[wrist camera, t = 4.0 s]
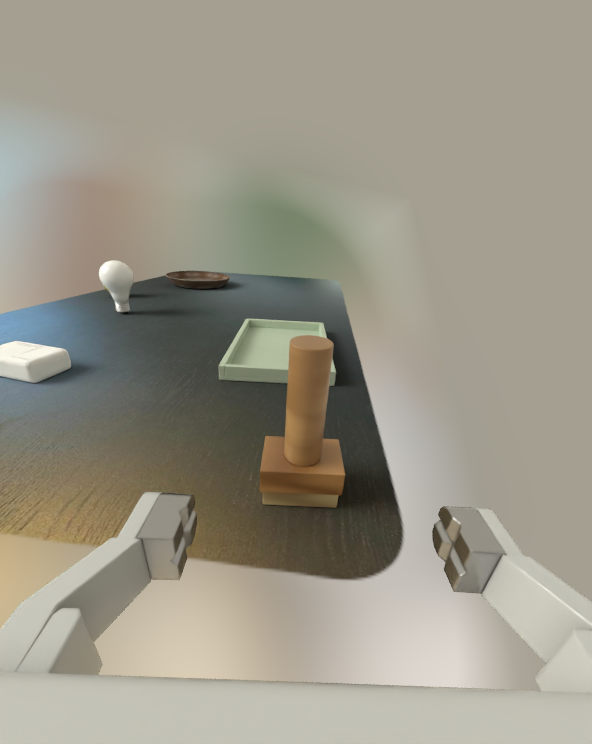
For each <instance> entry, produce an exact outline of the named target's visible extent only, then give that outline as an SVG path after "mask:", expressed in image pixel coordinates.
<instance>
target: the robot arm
mask: <svg viewBox="0 0 592 744" xmlns="http://www.w3.org/2000/svg"><path fill="white" fill-rule="evenodd" d="M194 505H195V498H194V495H187V494H174V493H157V492H146V493H145V494H143V495H142V497H141V498H140V500H139V502H138V503H137V505H136V507H135V508H134V510H133V512H132V513H131V515H130V517H129V518H128V520H127V522H126V524H125V525H124V527H123V529H122V530H121V532H120V534H119V535H118V537H117V538H111V539H109V540H108V541H107V542H105V543H104V544H102V545H101V546H100V547H98V548H97V549H96V550H94V551H93V552H92V553H90V554H89V555H87V556H86V557H84V558H83V559H82V560H80V561H79V562H78V563H76V564H75V565H73V566H72V567H71V568H69V569H68V570H66V571H65V572H64V573H62V574H61V575H59V576H58V577H57V578H55V579H54V580H52V581H51V582H50V583H48V584H47V585H46V586H44V587H43V588H41V589H40V590H39V591H37V592H36V593H34V594H33V595H32V596H30V597H29V598H27V599H26V600H25V601H23V602H22V603H21V604H19V606H18V607H17V608H16V610H15V611H14V612H13V614H12V615H11V616H10V618H9V619H8V620H7V622H6V623H5V624H4V626H3V627H2V628H1V630H0V744H592V601H590V600H589V599H588V598H586V597H585V596H584V595H582V594H581V593H580V592H578V591H577V590H575V589H574V588H573V587H571V586H570V585H569V584H567V583H566V582H564V581H563V580H562V579H560V578H559V577H558V576H556V575H555V574H553V573H552V572H551V571H549V570H548V569H546V568H545V567H544V566H542V565H541V564H539V563H538V562H537V561H536V560H534V559H533V558H531V557H530V556H525V555H524V554H523V552H522V551H521V550H520V548H519V547H518V545H517V544H516V543H515V541H514V540H513V538H512V537H511V535H510V534H509V533H508V531H507V530H506V528H505V527H504V526H503V524H502V523H501V521H500V520H499V518H498V517H497V516H496V514H495V513H494V512H493V511H492V510H491V509H489V508H471V507H442V508H441V509H440V511H439V514H438V515H439V517H440V519H441V520H439V521H438V522H437V523H436V524H435V525H434V528H433V543H434V547H435V549H436V552H437V554H438V556H439V557H441V558H442V559H443V560H444V561H445V562H446V563H445V567H444V571H445V573H446V575H447V577H448V579H449V582H450V584H451V587H452V589H453V591H454V592H466V593H481V594H482V596H483V597H484V598H485V600H486V601H487V602H488V603H489V604H490V605H491V606H492V607H493V608H494V609H495V610H496V611H497V612H498V613H499V614H500V616H501V617H502V618H503V619H504V620H505V621H506V622H507V623H508V624H509V625H510V626H511V627H512V628H513V629H514V631H516V632H517V634H518V635H519V636H520V637H521V638H522V639H523V640H524V641H525V642H526V643H527V644H528V645H529V646H530V648H531V649H532V650H533V651H534V652H535V653H536V654H537V655H538V656H539V657H540V658H541V659H542V660H543V661H544V662H545V665H544V666H543V667H542V669H541V670H540V671H539V672H538V674H537V675H536V679H535V682H536V683H537V685H538V687H539V689H540V691H533V690H532V691H530V690H505V689H478V688H450V687H423V686H393V685H392V686H391V685H367V684H339V683H313V682H284V681H255V680H228V679H201V678H200V679H199V678H173V677H144V676H117V675H115V676H114V675H98V673H99V672H100V669H101V667H102V662H101V658H100V656H99V654H98V652H97V649H96V647H95V645H94V641H95V640H96V639H97V638H98V637H99V636H100V635H101V634H102V633H103V632H104V631H105V629H107V627H108V626H109V625H110V624H111V623H112V622H113V621H114V620H115V619H116V618H117V617H118V616H119V615H120V614H121V613H122V612H123V610H125V608H126V607H127V606H128V605H129V604H130V603H131V602H132V601H133V600H134V599H135V598H136V597H137V596H138V595H139V594H140V592H141V591H142V590H143V589H144V588H145V587H146V586H147V585H148V584H149V583H150V582H151V580H179V579H180V577H181V574H182V572H183V569H184V566H185V563H186V560H187V553H186V549H187V548H188V547H189V546H190V545H191V544H192V542H193V539H194V536H195V531H196V526H197V514H196V512H195V511H194V510H193V508H194Z"/></svg>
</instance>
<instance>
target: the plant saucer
mask: <svg viewBox="0 0 592 744" xmlns="http://www.w3.org/2000/svg"><path fill="white" fill-rule="evenodd" d="M166 276H167V278H168V279H169V280H170V281H171V282H172V283H173V284H174V285H176V286H179V287H184V288H193V289H211V288H219V287H222V286H224V285H225V284H226V283H227V282H228V280H229V278H230V276H228V275H226V274H221V273H215V272H204V271H179V272H170V273H167V274H166Z"/></svg>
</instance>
